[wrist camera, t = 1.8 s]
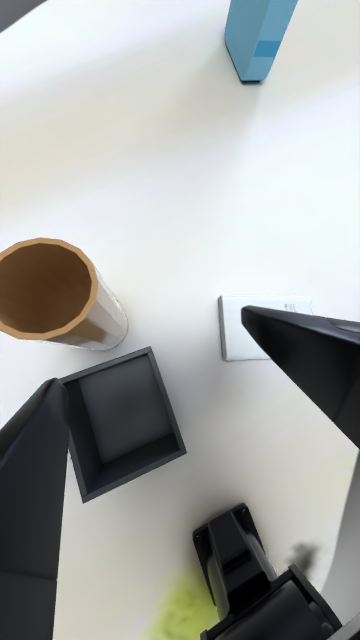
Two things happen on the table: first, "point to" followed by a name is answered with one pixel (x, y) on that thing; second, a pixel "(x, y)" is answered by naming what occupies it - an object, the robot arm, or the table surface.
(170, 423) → the bin
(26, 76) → the table surface
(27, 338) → the cup
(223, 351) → the hard drive
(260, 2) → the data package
